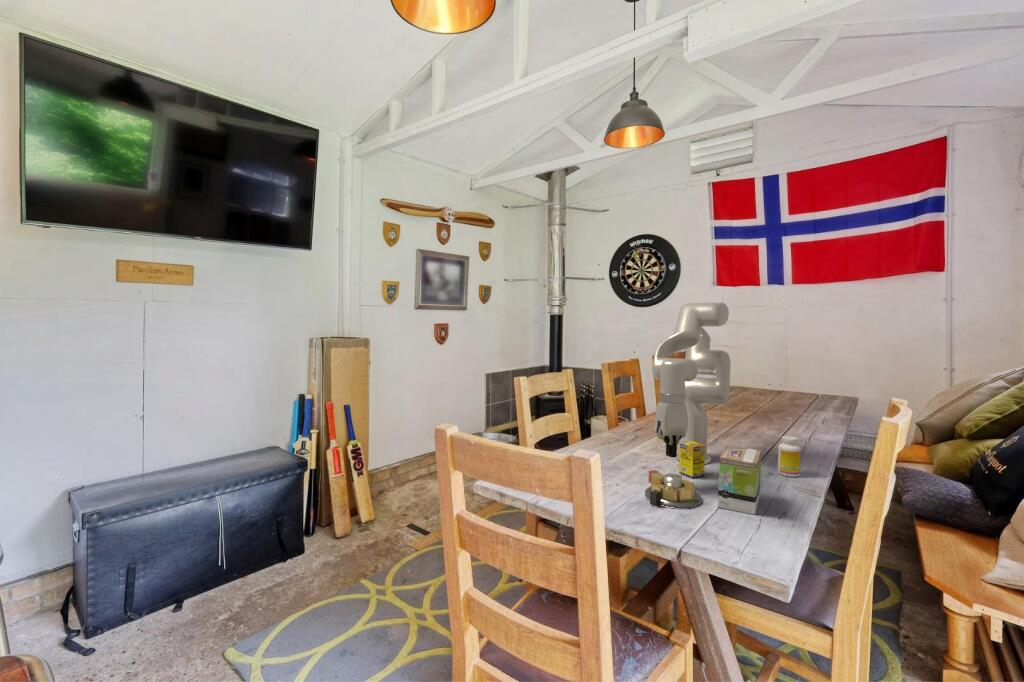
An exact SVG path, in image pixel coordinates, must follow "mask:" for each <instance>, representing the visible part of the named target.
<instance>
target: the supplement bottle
mask: <svg viewBox="0 0 1024 682" xmlns="http://www.w3.org/2000/svg"><path fill="white" fill-rule="evenodd" d="M798 440H799V439H798V438H797V437H795V436H791V435H783V436H781V443H780V444H778V448H777V473H778V474H779V475H782V476H784V477H789V478H797V477H800V475H801V459H802V458H801V457H802V455H801V453H802V452H801V451H802V449H801V447H800V446H799V445H798V442H799V441H798Z"/></svg>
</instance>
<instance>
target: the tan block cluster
mask: <svg viewBox="0 0 1024 682" xmlns="http://www.w3.org/2000/svg"><path fill="white" fill-rule="evenodd" d="M664 475H665V474H663V473H662V472H659V471H658V470H656V469H652V470H648V484H649V483H650V484H651V486H650V487H651V491H653V490H658V491H661V498H663V500H669V501H675V502H677V500H678V501H679V502H683V501H690V500H691V499H693V498H694V491H695V488H696V487H695V484H694V482H693V481H689V480H688V479H682V488H674V484H670V483H668V485H667V487H666V486H664ZM677 475H679V473H677Z"/></svg>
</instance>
